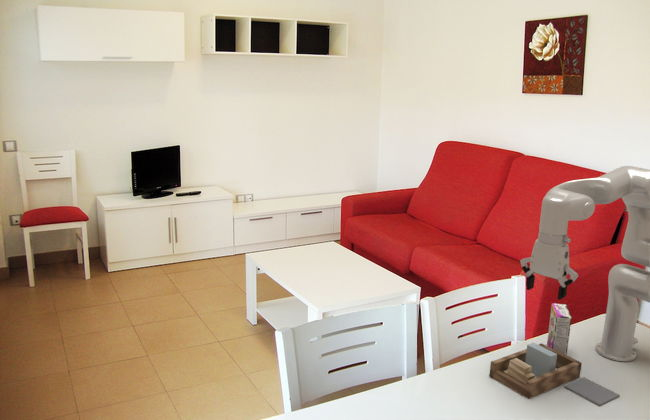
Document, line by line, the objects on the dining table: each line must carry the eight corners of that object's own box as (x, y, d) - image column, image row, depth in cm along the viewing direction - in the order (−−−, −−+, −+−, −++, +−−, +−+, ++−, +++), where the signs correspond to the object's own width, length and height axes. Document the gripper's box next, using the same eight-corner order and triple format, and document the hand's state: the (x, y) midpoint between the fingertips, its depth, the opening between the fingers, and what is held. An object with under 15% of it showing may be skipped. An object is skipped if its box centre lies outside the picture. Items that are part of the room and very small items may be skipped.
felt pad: (583, 378, 195) (584, 377, 195) (619, 396, 185) (619, 395, 185) (564, 387, 190) (564, 385, 189) (599, 406, 180) (599, 404, 180)
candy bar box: (545, 346, 216) (551, 302, 212) (560, 347, 215) (566, 304, 211) (550, 361, 205) (556, 315, 201) (566, 363, 204) (572, 317, 200)
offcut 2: (513, 370, 195) (514, 363, 194) (534, 382, 188) (535, 375, 187) (507, 373, 193) (508, 365, 192) (527, 385, 186) (528, 377, 186)
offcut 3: (508, 375, 196) (509, 368, 196) (534, 390, 188) (535, 383, 188) (502, 378, 195) (503, 371, 194) (528, 393, 187) (529, 385, 186)
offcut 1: (515, 363, 194) (516, 358, 193) (530, 372, 189) (531, 366, 188) (509, 366, 192) (509, 360, 192) (524, 374, 187) (524, 368, 187)
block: (530, 367, 201) (533, 342, 199) (553, 380, 194) (557, 354, 191) (524, 370, 199) (527, 344, 197) (547, 382, 192) (551, 356, 190)
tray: (539, 356, 208) (541, 343, 207) (579, 377, 196) (581, 362, 195) (489, 376, 195) (490, 361, 194) (528, 399, 183) (530, 383, 181)
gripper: (587, 242, 174) (579, 299, 179) (530, 229, 186) (524, 282, 191) (575, 248, 169) (568, 306, 174) (517, 233, 181) (512, 288, 185)
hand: (545, 293), depth 182 cm, fingers open, 9 cm apart
